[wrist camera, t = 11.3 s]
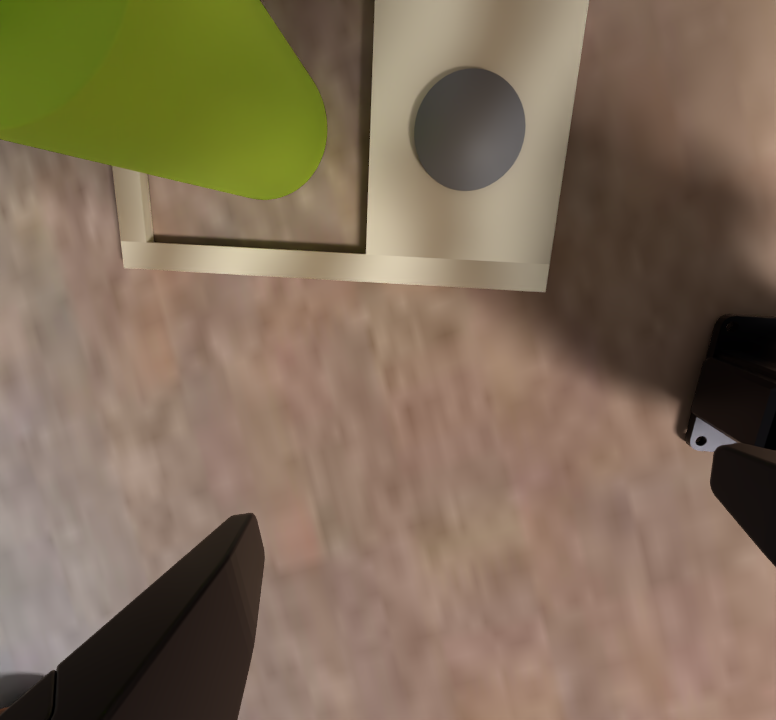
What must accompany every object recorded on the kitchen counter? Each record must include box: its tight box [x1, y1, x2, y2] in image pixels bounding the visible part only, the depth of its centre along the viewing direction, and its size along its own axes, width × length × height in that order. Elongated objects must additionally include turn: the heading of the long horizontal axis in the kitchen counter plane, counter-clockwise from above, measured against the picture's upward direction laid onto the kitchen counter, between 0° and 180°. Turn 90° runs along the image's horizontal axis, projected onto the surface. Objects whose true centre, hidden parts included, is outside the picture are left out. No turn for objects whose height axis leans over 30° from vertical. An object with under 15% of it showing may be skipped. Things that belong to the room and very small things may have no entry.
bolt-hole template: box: [112, 0, 589, 292], centre depth 18 cm, size 19×12×1 cm, turn 87°
